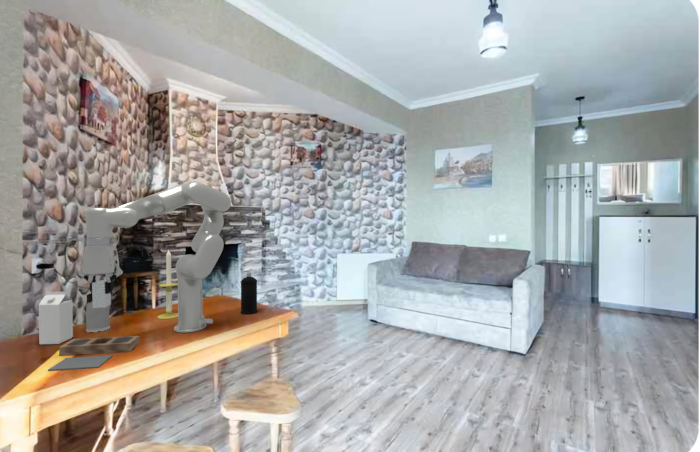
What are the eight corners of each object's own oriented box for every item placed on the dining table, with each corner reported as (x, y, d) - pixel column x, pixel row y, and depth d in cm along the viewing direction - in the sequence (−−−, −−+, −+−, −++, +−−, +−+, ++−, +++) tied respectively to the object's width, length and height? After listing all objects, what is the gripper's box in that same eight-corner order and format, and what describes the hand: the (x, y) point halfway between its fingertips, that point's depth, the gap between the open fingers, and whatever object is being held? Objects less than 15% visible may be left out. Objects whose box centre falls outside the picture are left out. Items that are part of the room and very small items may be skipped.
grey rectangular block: (110, 304, 127) (110, 280, 127) (105, 307, 123) (104, 282, 123) (98, 305, 126) (98, 280, 126) (92, 308, 122) (91, 282, 122)
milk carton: (53, 338, 136) (53, 289, 136) (73, 337, 137) (72, 289, 136) (39, 344, 129) (38, 294, 129) (59, 344, 130) (58, 293, 129)
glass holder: (80, 333, 142) (79, 296, 142) (99, 322, 156) (99, 289, 156) (103, 332, 144) (103, 295, 143) (120, 321, 158) (120, 288, 157)
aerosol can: (254, 314, 170) (254, 274, 170) (238, 314, 170) (238, 273, 170) (259, 310, 179) (259, 271, 178) (243, 310, 179) (243, 271, 178)
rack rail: (139, 343, 131) (139, 335, 131) (129, 351, 123) (129, 343, 123) (73, 347, 127) (73, 338, 127) (59, 355, 119) (59, 346, 119)
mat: (112, 356, 119) (112, 355, 119) (98, 367, 110) (98, 366, 110) (66, 359, 116) (66, 358, 116) (47, 370, 107) (47, 369, 107)
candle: (154, 319, 161) (153, 249, 160) (160, 313, 171) (160, 248, 170) (177, 318, 163) (177, 249, 162) (182, 312, 173) (182, 247, 172)
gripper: (130, 241, 129) (131, 290, 130) (79, 242, 126) (81, 292, 127) (120, 242, 122) (122, 294, 122) (67, 243, 119) (68, 296, 119)
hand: (101, 292), depth 125 cm, fingers closed on grey rectangular block, 4 cm apart
